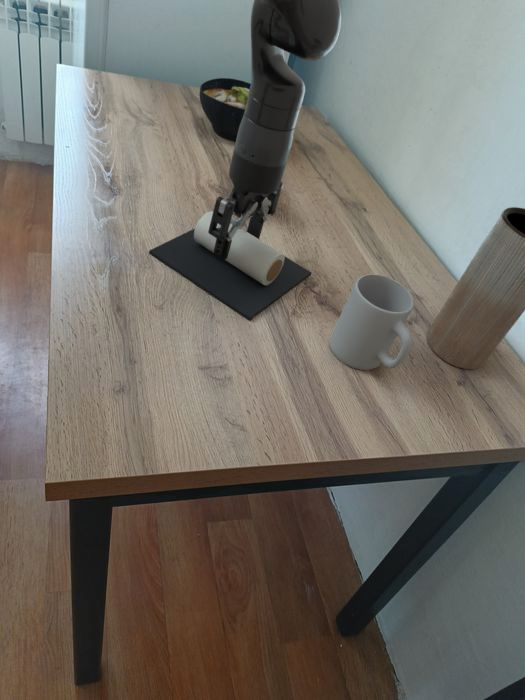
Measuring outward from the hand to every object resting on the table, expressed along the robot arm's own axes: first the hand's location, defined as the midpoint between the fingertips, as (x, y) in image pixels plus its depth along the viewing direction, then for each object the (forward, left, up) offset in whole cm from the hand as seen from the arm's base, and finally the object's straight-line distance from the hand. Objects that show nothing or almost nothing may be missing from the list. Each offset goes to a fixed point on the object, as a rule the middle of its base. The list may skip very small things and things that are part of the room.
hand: (236, 247), depth 85 cm
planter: (+36, +13, -4) cm, 39 cm away
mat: (0, 0, -3) cm, 3 cm away
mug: (+26, -2, -4) cm, 26 cm away
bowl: (-32, +41, -4) cm, 52 cm away
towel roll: (0, 0, -3) cm, 3 cm away
